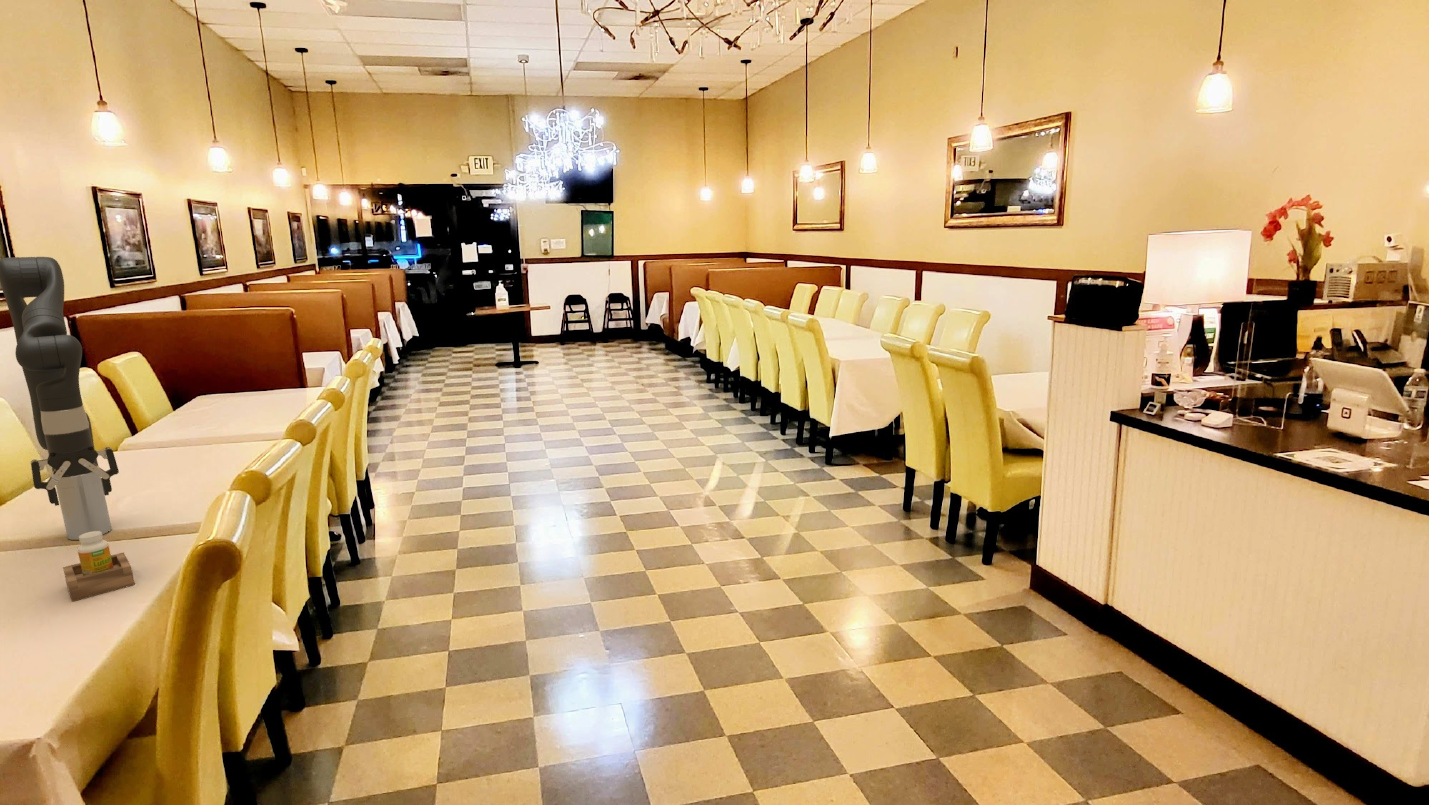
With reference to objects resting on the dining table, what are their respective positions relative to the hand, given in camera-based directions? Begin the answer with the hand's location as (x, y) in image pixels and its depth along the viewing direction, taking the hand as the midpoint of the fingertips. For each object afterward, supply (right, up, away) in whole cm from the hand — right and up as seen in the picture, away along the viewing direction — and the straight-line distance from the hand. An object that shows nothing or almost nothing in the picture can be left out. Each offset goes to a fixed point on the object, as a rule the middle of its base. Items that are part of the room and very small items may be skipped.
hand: (82, 499), depth 167 cm
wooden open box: (0, -20, +5) cm, 20 cm away
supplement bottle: (0, -18, +4) cm, 18 cm away
